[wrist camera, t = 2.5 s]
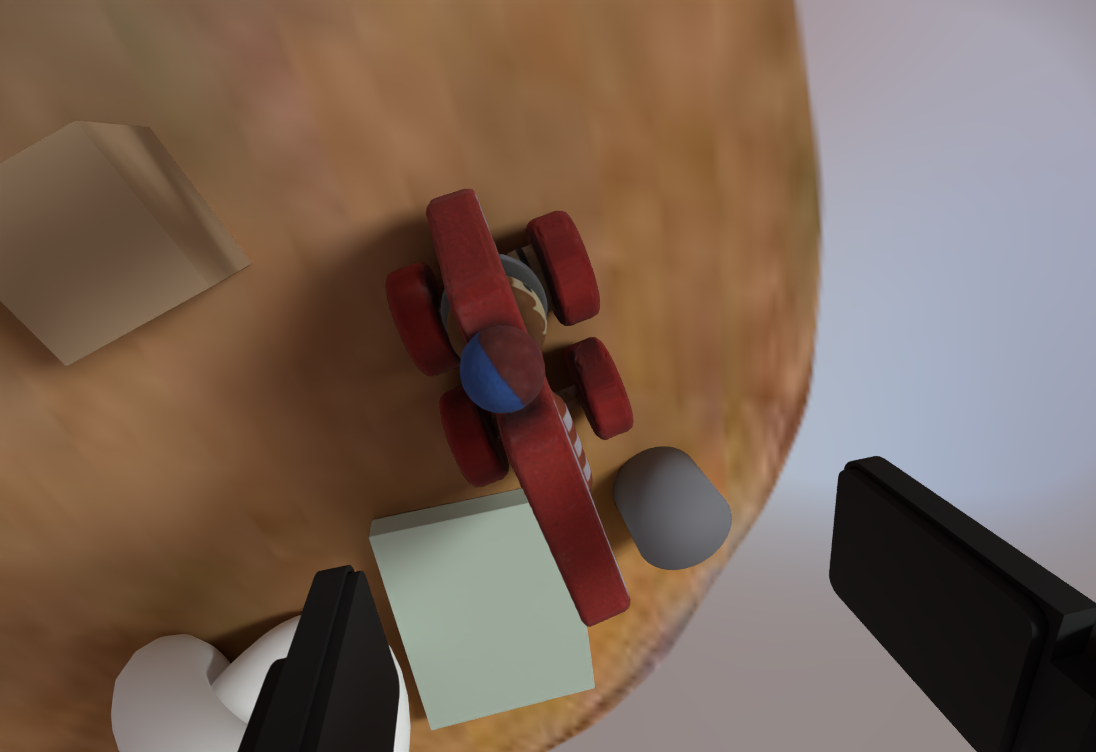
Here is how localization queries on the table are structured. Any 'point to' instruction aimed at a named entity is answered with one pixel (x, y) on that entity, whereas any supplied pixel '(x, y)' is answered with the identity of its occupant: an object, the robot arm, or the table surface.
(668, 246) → the table surface
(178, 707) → the white knot
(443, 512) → the board
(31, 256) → the walnut block
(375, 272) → the table surface
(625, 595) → the red wheeled piece
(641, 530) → the grey rounded pebble
